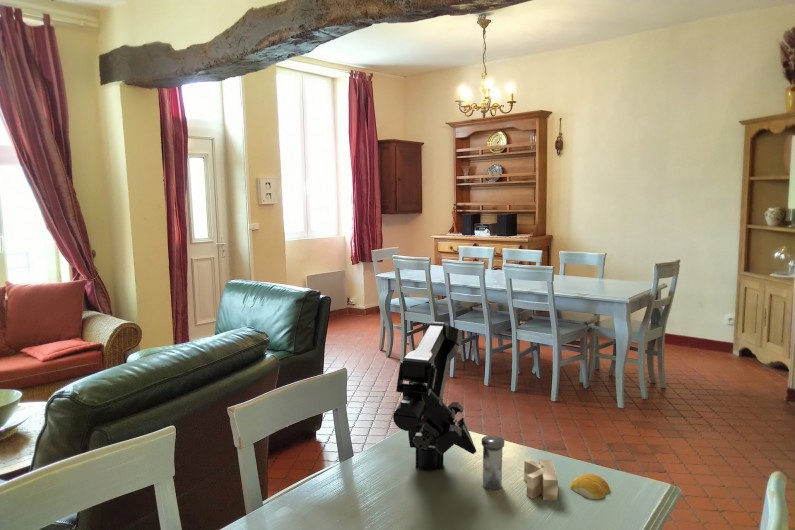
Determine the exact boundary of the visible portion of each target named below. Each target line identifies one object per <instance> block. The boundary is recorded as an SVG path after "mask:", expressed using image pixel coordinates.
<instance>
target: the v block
mask: <svg viewBox="0 0 795 530" xmlns="http://www.w3.org/2000/svg"><path fill="white" fill-rule="evenodd" d="M523 462H524V463H523V467H524V469H523V481H524V482H526V497H528V498H530V499H534V498H536V497H538V496H542V501H552V502H558V494H559V493H558V492H559V491H558V490H559V489H558V488H559V480H558V476H557V473H556V469H555V464H554V461H553V459H547V458H546V459H543V458H539V459H538V462H536V461H535V460H532V459H529V458H528V459H525V460H524V461H523Z"/></svg>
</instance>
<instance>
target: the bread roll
mask: <svg viewBox="0 0 795 530" xmlns="http://www.w3.org/2000/svg"><path fill="white" fill-rule="evenodd" d="M569 489H570V490H572V491H573V492H575V493H578V494H579V495H581V496H582V497H585V498H586V499H590V500H592V499H593V500H599V499H602V498H604V497H606V494H608V493H610V492H611V488H610V486H609V484H608V482H607V481H606V480H605V479H604V478H603V477H601V476H599V475H597V474H594V473H585V474H581V475H578V476H577V477H576V478H574V479H573V480H572V481H571V482H570V484H569Z"/></svg>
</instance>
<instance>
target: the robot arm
mask: <svg viewBox="0 0 795 530" xmlns="http://www.w3.org/2000/svg"><path fill="white" fill-rule="evenodd" d="M462 341H463V333H462V332H461V331H460V329H458V328H456V327H454V326H452V325H450V324H449V323H447V322H446V321H445V322H441V321H429V322H428V324H427V328H426V331H425V333H424V335H423V337H422V339H421V341H420V342H419V344H418V346H417V347H416V349H415V350H411V351H409V352H408V353H407V354H406V355H405V356H404V357H403V358H402V360H401V361H400V363H399V369H398V370H399V371H398V376H397V382H396V383H397V384H396V390H395V391H396V393H402V399H401V401H400V402H399V404H398V406H397V407H396V409H395V410H394V412H393V415H392V419H393V422H394V424H395V426H397V428H398V429H400V430H402V431H405V432H408V433H407V434H408V441H409V448H415V469H419V470H421V471H425V472H434V471H436V470H438V471H439V470H444V466H445V465H444V464H445V461H444V460H445V455H444V454H445V453H446V452H447V451H448V450H450V449H451V448H452V447H453V446H454V445H455V446H457V447H459V448H461V449H462V450H464V451H466V452H468V453H470V454H471V455H475V453H477V448H476V445H475V443H474V440H473V439H472V435H471V433H470V431H469V428H468V426H467V423H466V421H465V418H464V417H462V418H460V419H459V420H458V419H456V415H457V414H458V413H460V414H462V412H464V407H463V405H461V404H460V403H459V401H458V402H457V401H452V402H451V403H450V404H449V405H448V406H447V404H445V403H444V399H443V397H444V393H445V387H446V381H447V376H448V372H449V366H450V362H451V361H452V360H453V358H455V357H456V356H457V355H458V352H459V349H460V347H461V345H462ZM404 382H408V383H404Z"/></svg>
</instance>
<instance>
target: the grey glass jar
mask: <svg viewBox="0 0 795 530" xmlns="http://www.w3.org/2000/svg"><path fill="white" fill-rule="evenodd" d="M481 446H482V447H483V448H482V487H483V488H484V489H487V490H488V491H489V490H490V491H498V490H500V489H501V488H502V485H503V483H502V482H503V448H504V447H505V439H504V438H503V437H500V436H497V435H486V436H483V437H482V438H481Z"/></svg>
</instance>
